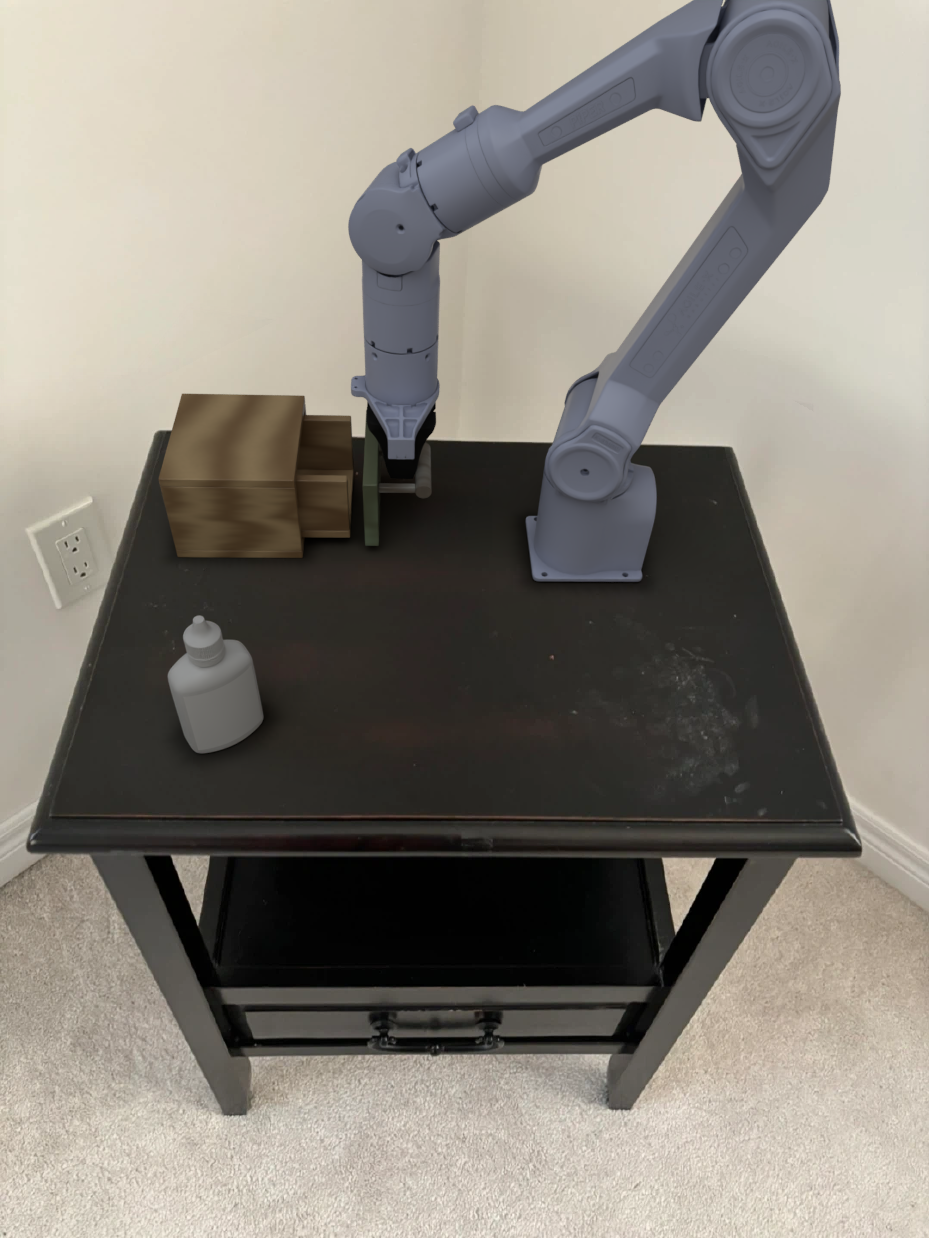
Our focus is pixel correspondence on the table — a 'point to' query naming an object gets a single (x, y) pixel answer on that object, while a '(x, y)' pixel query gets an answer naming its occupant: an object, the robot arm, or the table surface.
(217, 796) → the table surface
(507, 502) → the table surface
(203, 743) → the eye dropper bottle
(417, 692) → the table surface
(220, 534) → the cabinet
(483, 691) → the table surface
